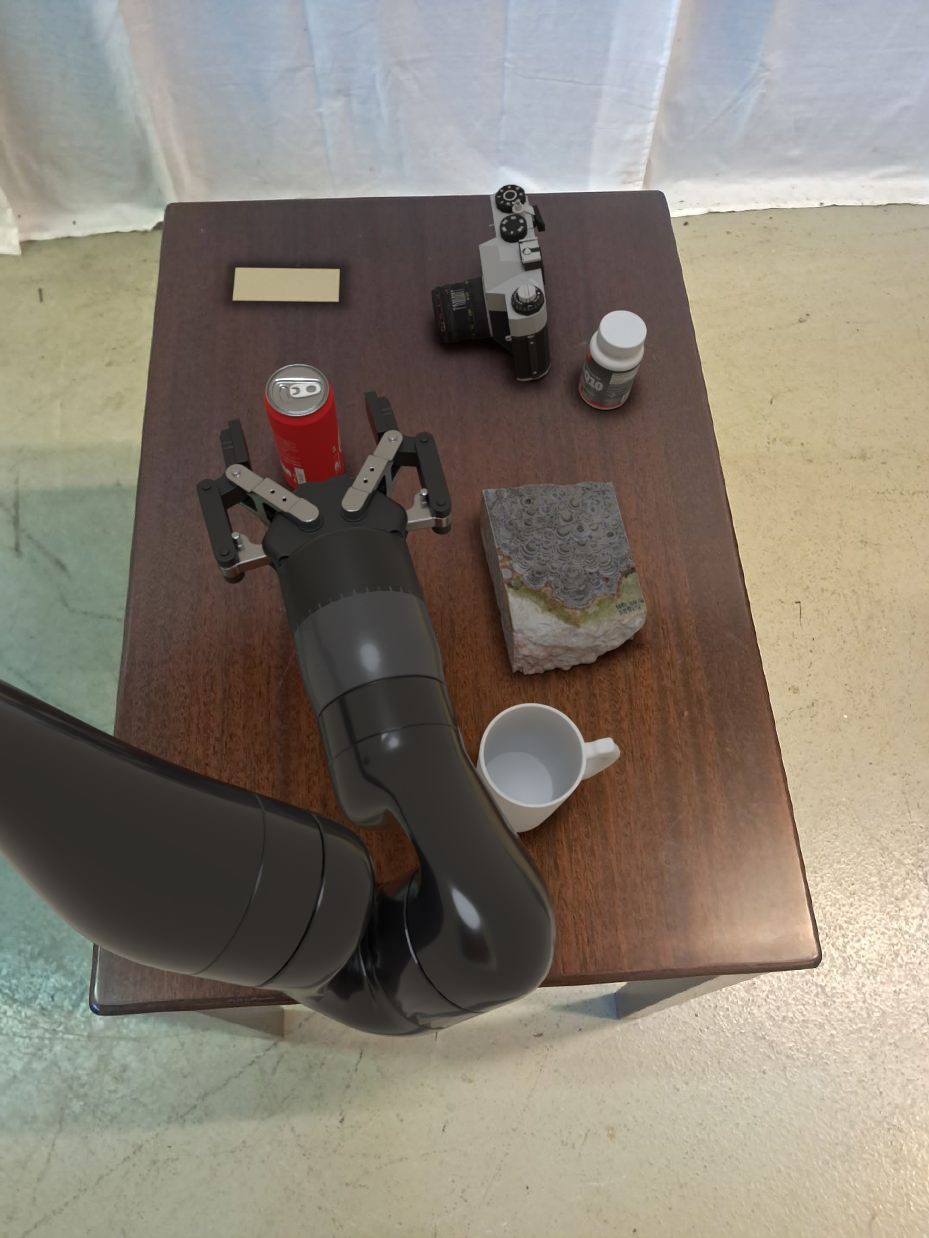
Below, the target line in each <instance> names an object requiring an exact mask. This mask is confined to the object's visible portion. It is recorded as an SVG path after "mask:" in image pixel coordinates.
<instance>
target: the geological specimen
mask: <svg viewBox="0 0 929 1238" xmlns="http://www.w3.org/2000/svg"><path fill="white" fill-rule="evenodd" d="M613 485H614V484H613V481H607V482H600V481H591V480H586V481H582V482H578V483H577V482H576V483H573V484H564V485H562V484H555V483H545V482H544V483H539V484H536V483H535V484H533V483H532V484H523V485H520V486H515V487H514V486H512V487H508V486H507V487H499V488H485V489H482V490H481V500H480V512H479V531H480V535H481V541H482V544H483V545H482V546H483V549H484V552H485V557H486V562H487V566H488V570H489V573H490V579H491V583H492V584H493V589H494V591H493V592H494V596H495V600H496V603H497V604H496V605H497V608H498V610H499V612H500V622H501V627H502V632H503V636H504V637H503V638H504V641H505V644H506V650H507V654H508V658H509V663H510V666H511V671H512V673H516V672H521V673H522V674H524V675H533V674H543V673H544V672H545V671H552V670H555V669H557V668H558V669H560V670H563V671H570V669H571V668H572V667H573V666H577V665H580V664H587V665H588V664H592V663H595V662H596V661H597V658H598V657H600V656H603V655H604V654H605V653H607V652H609V651H613V650H615V649H617V648H619V647H620V646H621V645H623V644H625V642H627V640H629V641H633V640H634V638H635V633H637V632H638V631H640V630H641V629H642V628H643V626H645V623H646V618H647V611H648V610H647V605H646V601H645V598H644V595H643V591H642V587H641V584H640V580H639V579H640V578H639V576H638V571H637V568H636V564H635V561H634V560H633V558H632V551H631V547H630V543H629V540H628V537H627V532H626V529H625V525H624V522H623V518H622V515H621V510H620V507H619V503H618V500H617V496H616V492H615V489H614V486H613Z"/></svg>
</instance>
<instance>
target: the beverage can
mask: <svg viewBox="0 0 929 1238" xmlns="http://www.w3.org/2000/svg"><path fill="white" fill-rule="evenodd" d="M263 401H264V402H263V403H264V407H265V410H266V414H267V418H268V421H269V425H270V429H271V433H272V435H273V439H274V443H275V448H276V450H277V454H278V458H279V461H280V465H281V468H282V472H283V473H282V474H283V476H284V479H285V481H286V482H287V484H288V485H289V486H290V488H292V489H293V490H295V489H297V488H296V485H297V484H301V483H306V482H323V481H325V480H327V479H329V478H332V477H334V476H337V475H342V474H345V473H344V472H345V462H344V461H345V460H344V455H343V448H342V442H341V441H342V440H341V435H340V428H339V422H338V414H337V408H336V401H335V395H334V390H333V387H332V385H331V382H329V380H328V379H327V378H326V376H325V374H324V373H322V372H321V370H319V369H318V368H316V367H315V366H312V365H308V364H302V363H295V364H289V365H286V366H283V367H281V368H278V369H277V370H276V371H275V372H273V374H272V375H271V376H270V377H269V378H268V380H267V382H266V384H265V390H264V394H263Z"/></svg>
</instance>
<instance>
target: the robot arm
mask: <svg viewBox="0 0 929 1238" xmlns="http://www.w3.org/2000/svg"><path fill="white" fill-rule="evenodd" d="M363 397H364V398H363V399H364V405H365V412H366V416H367V419H368V422H369V426H370V429H371V432H372V435H373V439H374V441H375V444H376V448H375V449H374V451H373V454H371V453H370V454H369V455H368V456H367V458H366V459H365V461H364V463H363V465H362V467H361V468H360V471H359V472H358V474H357V476H349V473H346V472H345V473H343V474H342V475H337V476H334V477H332V478H329V479H327V480H325V481H323V482H306V483H301V484H297V485H296V488H297V489H293V490H291V491H289V490H288V489H286V488H285V487H283V486H282V485H280V484H279V483H277V482H276V481H274V480H273V479H271V478H269V477H267V476H266V477H264V478H263V477H261V476H260V475H258V474H256V473H255V472H254V471H253V470H254V469H253V465H252V462H251V456H250V452H249V448H248V444H247V439H246V436H245V432H244V428H243V426H242V422H241V420H240V417H236V418H232V419H227V425H228V428H225V429H221V431H220V435H219V440H220V445H221V450H222V456H223V461H224V465H225V471H224V473H223V474H222V475H221V476H220V477H218V478H216V479H215V480H214V479H212V478H204V479H202V480H200V481H199V482H198V483H197V485H196V494H197V497H198V501H199V504H200V508H201V511H202V515H203V519H204V522H205V526H206V530H207V534H208V538H209V542H210V546H211V549H212V553H213V556H214V559H215V561H216V564H217V566H218V567H219V570H220V572H221V574H222V577H223V579H224V581H225V582H226V583H228V584H232V585H235V584H239V583H241V582H242V581H244V579H245V576H246V573H245V572H248V571H251V570H256V569H259V568H262V567H265V566H269V567H271V568H272V569H273V570H274V571H275V572H276V574H277V577H278V582H279V587H280V591H281V596H282V600H283V605H284V608H285V613H286V615H287V616H286V617H287V621H288V625H289V631H290V634H291V639H292V643H293V648H294V652H295V653H294V654H295V656H296V666H297V669H298V671H299V674H300V678H301V683H302V686H303V689H304V692H305V695H306V698H307V700H308V703H309V705H310V708H311V710H312V713H313V716H314V719H315V723H316V727H317V731H318V736H319V740H320V744H321V749H322V753H323V758H324V763H325V766H326V771H327V775H328V778H329V782H330V783H329V784H330V788H331V791H332V794H333V795H332V796H333V798H334V802H335V804H336V807H337V809H338V811H339V812H340V814H341V816H342V818H343V819H344V820H345V821H346V822H347V823H348V824H349V825H350V826H352V827H354V828H356V829H358V830H361V831H366V832H389V831H397V830H402V831H403V834H404V835H405V836H406V838H407V839H408V841H409V843H410V845H411V846H412V848H413V851H414V854H415V856H416V858H417V864H418V865H417V866H414V867H413V868H410V869H409V870H407V871H405V872H404V873H401V874H400V875H398V876H396V877H394V878H393V879H390V880H389V881H376V879H377V878H376V869H375V865H374V860H373V858H372V854H371V852H370V850H369V848H368V847H367V845H366V844H365V842H364V840H363V839H362V838H361V837H360V836H359V835H358V834H357V833H356V832H355V831H354V830H353V829H351V828H350V827H349V826H347V825H345V824H343V823H342V822H339V821H337V820H335V819H333V818H331V817H329V816H326V815H324V814H321V813H318V812H316V811H313V810H310V809H308V808H303V807H301V806H298V805H295V804H291V803H289V802H286V801H283V800H281V799H277V798H274V797H271V796H268V795H265V794H262V793H259V792H256V791H254V790H250V789H248V788H245V787H243V786H239V785H236V784H234V783H229V782H227V781H224V780H221V779H219V778H215V777H212V776H209V775H206V774H203V773H200V772H198V771H195V770H192V769H190V768H188V767H185V766H183V765H180V764H177V763H175V762H172V761H169V760H167V759H164V758H162V757H160V756H158V755H156V754H153V753H151V752H148V751H146V750H144V749H142V748H139V747H137V746H135V745H133V744H130V743H129V742H126V741H124V740H123V739H120V738H118V737H116V736H114V735H112V734H109V732H108V733H107V732H106V731H104V730H102V729H100V728H97V727H96V726H94V725H91V724H89V723H88V722H86V721H83V720H81V719H79V718H77V717H76V716H74V715H71V714H70V713H67V712H65V711H63V710H62V709H60V708H57V707H56V706H54V705H52V704H51V703H49V702H46V701H44V700H43V699H40V698H39V697H36V696H35V695H32V694H31V693H30V692H27V691H25V690H24V689H21V688H19V687H18V686H15V685H13V684H11V683H9V682H7V681H5V680H4V679H1V678H0V855H1V856H2V857H3V858H4V859H5V860H6V861H7V863H8V864H10V866H11V867H12V868H13V869H14V870H15V872H16V873H17V874H18V875H19V876H20V877H21V878H22V879H23V881H24V882H26V884H27V885H28V887H30V888H31V889H32V890H33V892H35V893H36V895H37V896H39V898H40V899H41V900H43V902H44V903H45V904H46V905H47V906H48V907H49V908H50V909H51V910H52V911H53V912H54V913H55V914H56V915H57V916H58V917H59V918H60V919H61V920H62V921H64V922H65V923H66V924H67V925H68V926H70V927H71V929H73V930H74V931H75V932H77V933H78V934H79V935H81V936H83V938H86V939H87V940H88V941H89V942H91V943H93V944H94V945H96V946H98V947H100V948H102V949H104V950H105V951H107V952H109V953H111V954H113V955H116V956H118V957H121V958H123V959H126V960H129V961H131V962H133V963H136V964H140V965H143V966H146V967H150V968H153V969H157V970H161V971H166V972H170V973H175V974H181V975H187V976H191V977H196V978H201V979H206V980H211V981H217V982H222V983H226V984H231V985H237V986H242V987H249V988H253V989H259V990H260V989H261V990H267V991H278V992H281V993H283V994H284V995H286V996H288V997H290V999H292V1000H294V1001H296V1002H297V1003H299V1004H301V1005H302V1006H304V1007H306V1008H308V1009H310V1010H312V1011H314V1012H316V1013H318V1014H321V1015H323V1016H325V1017H327V1018H329V1019H331V1020H334V1021H335V1022H338V1023H340V1024H341V1025H344V1026H346V1027H348V1028H351V1029H353V1030H356V1031H359V1032H362V1033H365V1034H368V1035H374V1036H380V1037H388V1038H389V1037H390V1038H417V1037H424V1036H429V1035H432V1034H436V1033H437V1032H440V1031H443V1030H445V1029H448V1028H451V1027H452V1026H455V1025H457V1024H460V1023H463V1022H465V1021H467V1020H470V1019H473V1018H476V1017H478V1016H481V1015H484V1014H487V1013H489V1012H492V1011H494V1010H497V1009H500V1008H502V1007H505V1006H507V1005H511V1004H512V1003H515V1002H517V1001H519V1000H522V999H524V998H525V997H527V996H529V995H531V994H532V993H533V992H535V991H536V990H537V989H538V988H539V987H540V986H541V984H542V983H543V982H544V981H545V979H546V978H547V976H548V974H549V973H550V970H551V967H552V965H553V962H554V960H555V954H556V947H557V936H558V935H557V934H558V933H557V929H558V927H557V916H556V908H555V905H554V902H553V897H552V894H551V891H550V887H549V886H548V884H547V881H546V879H545V877H544V875H543V873H542V870H541V869H540V867H539V865H538V864H537V863H536V859H534V857H533V855H532V854H531V853H530V851H529V850H528V848H527V846H526V845H525V843H524V842H523V840H522V839H521V837H520V836H519V834H518V832H516V831H515V830H514V828H513V827H512V825H511V824H510V822H509V821H508V819H507V818H506V816H505V814H504V813H503V811H502V810H501V808H500V806H499V805H498V803H497V801H496V800H495V798H494V796H493V795H492V793H491V792H490V790H489V788H488V787H487V785H486V784H485V782H484V781H483V779H482V777H481V776H480V774H479V773H478V771H477V770H476V768H477V767H476V766H475V765H474V762H473V761H472V759H471V758H470V755H469V753H468V752H467V751H468V750H467V748H466V746H465V745H466V744H465V742H464V738H463V734H462V730H461V727H460V724H459V721H458V717H457V714H456V711H455V708H454V704H453V701H452V698H451V695H450V691H449V689H448V686H447V685H448V684H447V682H446V677H445V672H444V663H443V657H442V652H441V648H440V645H439V641H438V638H437V635H436V632H435V629H434V625H433V622H432V618H431V616H430V612H429V608H428V606H427V603H426V600H425V597H424V593H423V590H422V586H421V584H420V581H419V578H418V574H417V570H416V567H415V564H414V561H413V558H412V555H411V552H410V548H409V546H408V541H407V538H408V534H409V532H413V531H414V532H415V531H419V530H424V529H425V530H426V529H430V528H431V530H432V531H433V533H434V534H437V535H440V536H442V535H447V534H448V533H450V531H452V498H451V495H450V492H449V491H450V490H449V487H448V484H447V480H446V478H445V477H446V476H445V473H444V469H443V465H442V462H441V458H440V454H439V450H438V447H437V444H436V439H435V437H434V435H433V434H432V433H431V432H429V431H421V432H419V433H417V434H415V436H411V435H406V434H403V433H402V432H401V431H400V429H399V425H398V423H397V420H396V417H395V413H394V411H393V408H392V405H391V402H390V400H389V398H387V397H386V396H384V395H383V396H378V395H377V391H376V390H375V389H371V390H367V391H363ZM404 467H409V468H410V467H411V468H416V469H415V470H416V472H417V473H416V474H417V476H418V480H419V484H420V488H421V489H419V491H418V492H417V493H415V494H414V497H413V505H412V506H411V507H410V508H408V509H405V507H404V506H402V504H400V503H398V502H397V501H396V500H394V499H393V498H391V497H392V495H393V491H394V486H395V484H396V482H397V480H398V478H399V476H400V475H401V472H402V470H403V469H404ZM237 505H240V506H241V507H242V508H244V509H246V510H247V511H249V512H251V513H252V514H253V515H255V516H256V517H257V518H258V519H259V521H260V522H261V523H262V524H263V525H264V526H265V527H267V530H266V531H265V533H264V535H263V537H262V539H261V543H253V542H252V541H250V539H249V537H248V536H247V535H246V534H244V533H240V532H239V531H234V529H233V526H232V522H231V520H230V516H229V512H228V510H229V509H230V508H232V507H234V506H237Z"/></svg>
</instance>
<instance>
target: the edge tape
mask: <svg viewBox="0 0 929 1238" xmlns="http://www.w3.org/2000/svg"><path fill="white" fill-rule="evenodd" d="M340 273H341V269H340V268H294V267H293V268H287V267H282V268H281V267H235V270H234V280H233V281H234V282H233V291H232V292H233V294H232V301H233V302H287V303H288V302H292V303H293V302H295V303H296V302H298V303H299V302H300V303H317V302H318V303H339V302H340V275H341V274H340Z"/></svg>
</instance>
